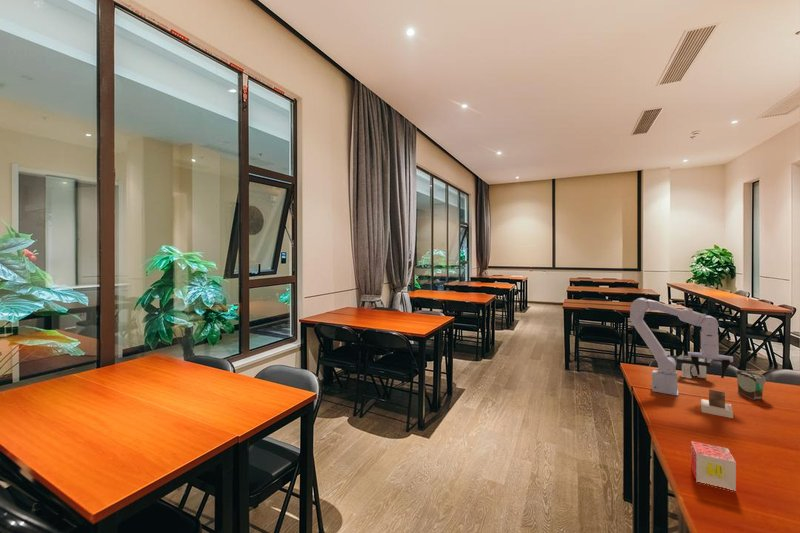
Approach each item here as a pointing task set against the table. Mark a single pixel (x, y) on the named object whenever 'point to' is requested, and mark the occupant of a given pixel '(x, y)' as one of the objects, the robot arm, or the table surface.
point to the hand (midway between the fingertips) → (710, 375)
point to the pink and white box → (713, 465)
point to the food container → (750, 384)
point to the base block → (716, 409)
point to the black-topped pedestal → (693, 366)
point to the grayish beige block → (716, 398)
